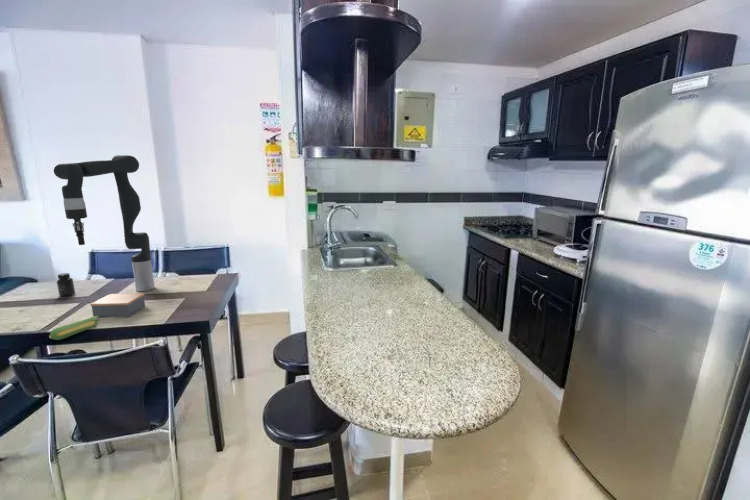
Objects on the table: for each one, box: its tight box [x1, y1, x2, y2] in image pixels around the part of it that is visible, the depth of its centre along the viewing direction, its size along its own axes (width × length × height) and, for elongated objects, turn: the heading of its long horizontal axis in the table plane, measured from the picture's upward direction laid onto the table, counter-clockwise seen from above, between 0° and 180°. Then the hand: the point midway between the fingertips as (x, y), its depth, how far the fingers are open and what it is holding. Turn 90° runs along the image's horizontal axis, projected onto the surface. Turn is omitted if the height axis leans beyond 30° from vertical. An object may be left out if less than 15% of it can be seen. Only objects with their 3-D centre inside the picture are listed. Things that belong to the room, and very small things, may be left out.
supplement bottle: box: [56, 272, 76, 298], centre depth 193 cm, size 7×7×12 cm
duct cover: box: [90, 292, 146, 307], centre depth 170 cm, size 14×16×1 cm
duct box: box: [91, 295, 146, 319], centre depth 170 cm, size 13×16×6 cm
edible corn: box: [48, 316, 100, 341], centre depth 149 cm, size 5×20×5 cm
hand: (82, 244), depth 166 cm, fingers closed
